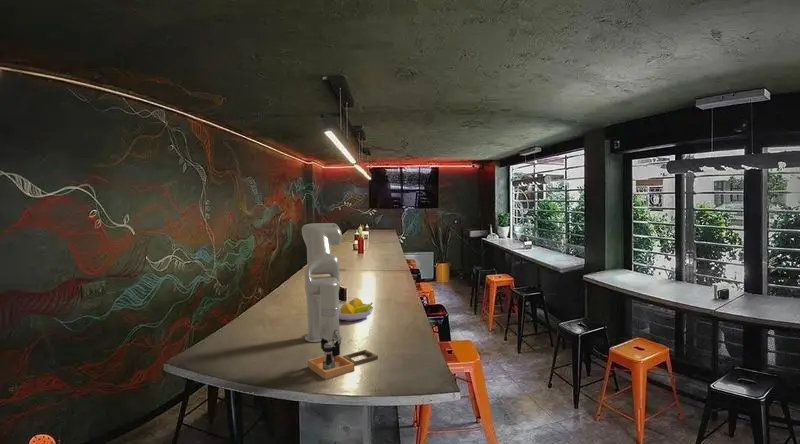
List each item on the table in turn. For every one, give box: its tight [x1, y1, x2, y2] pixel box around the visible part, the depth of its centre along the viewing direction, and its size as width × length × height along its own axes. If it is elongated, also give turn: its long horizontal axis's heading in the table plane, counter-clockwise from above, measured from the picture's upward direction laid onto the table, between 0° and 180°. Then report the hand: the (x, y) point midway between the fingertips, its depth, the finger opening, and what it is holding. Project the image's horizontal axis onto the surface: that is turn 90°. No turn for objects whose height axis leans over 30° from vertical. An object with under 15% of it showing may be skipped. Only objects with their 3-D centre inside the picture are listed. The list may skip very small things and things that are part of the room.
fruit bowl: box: [338, 297, 375, 322], centre depth 237 cm, size 28×27×11 cm
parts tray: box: [307, 354, 356, 381], centre depth 162 cm, size 16×13×3 cm
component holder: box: [342, 349, 379, 367], centre depth 172 cm, size 10×12×2 cm
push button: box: [321, 342, 338, 369], centre depth 162 cm, size 7×5×10 cm
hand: (330, 351), depth 162 cm, fingers open, 9 cm apart
